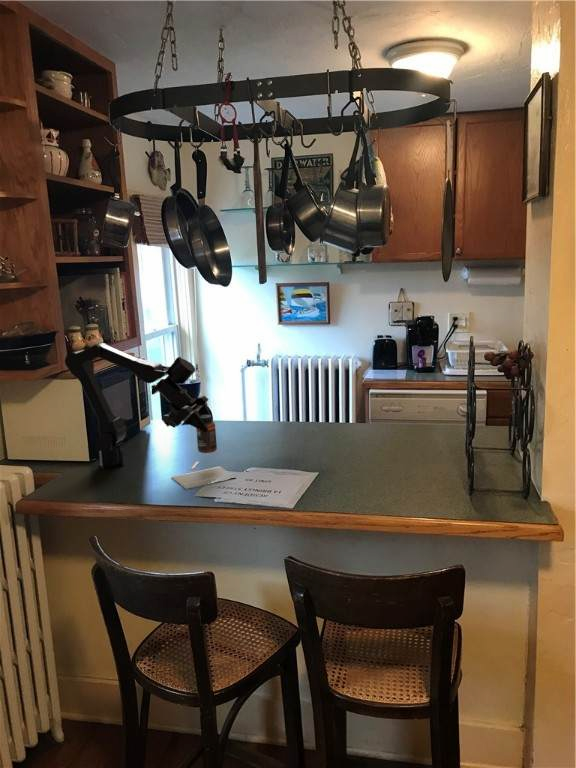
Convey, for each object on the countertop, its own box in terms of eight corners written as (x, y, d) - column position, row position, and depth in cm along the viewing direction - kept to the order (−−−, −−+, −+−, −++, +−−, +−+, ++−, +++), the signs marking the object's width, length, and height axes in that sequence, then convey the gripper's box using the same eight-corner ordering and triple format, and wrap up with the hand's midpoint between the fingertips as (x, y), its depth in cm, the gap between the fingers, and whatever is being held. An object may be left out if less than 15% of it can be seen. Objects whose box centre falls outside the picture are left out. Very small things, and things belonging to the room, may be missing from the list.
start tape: (190, 468, 196) (190, 468, 196) (196, 461, 203) (196, 461, 203) (193, 468, 196) (193, 468, 196) (199, 461, 202) (199, 461, 202)
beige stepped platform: (185, 489, 178) (185, 488, 178) (171, 478, 188) (171, 476, 188) (236, 478, 186) (235, 476, 186) (219, 467, 196) (219, 466, 196)
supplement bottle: (219, 448, 197) (217, 413, 195) (213, 454, 191) (211, 418, 189) (201, 447, 198) (199, 413, 196) (195, 453, 193) (192, 418, 190)
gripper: (169, 404, 204) (203, 437, 204) (146, 419, 186) (183, 455, 186) (191, 381, 201) (225, 414, 201) (169, 393, 183) (206, 430, 183)
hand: (210, 429), depth 193 cm, fingers closed on supplement bottle, 6 cm apart
